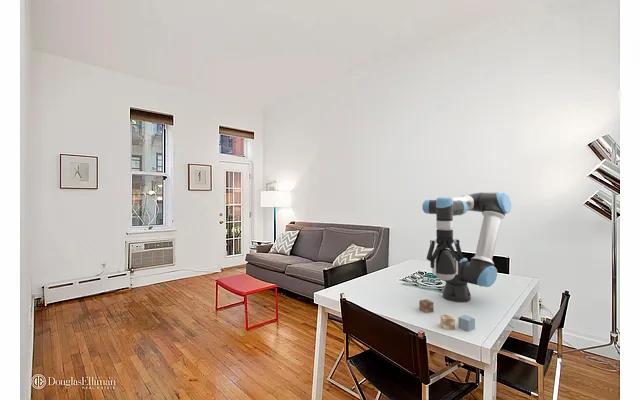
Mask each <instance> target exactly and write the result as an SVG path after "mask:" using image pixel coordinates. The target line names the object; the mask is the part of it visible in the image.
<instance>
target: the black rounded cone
mask: <svg viewBox="0 0 640 400" xmlns="http://www.w3.org/2000/svg"><path fill="white" fill-rule="evenodd" d="M435 262H436V275H435V276H436V277H437V278H438V279H440V280H441V281H446V280H451V279H453V278H454V277H455V274H456V265H455V261H454V256H453V255H452V253H451V251H450V250H449V248H442V249H441V250H440V252H439V254H438V256H437V257H436V259H435Z"/></svg>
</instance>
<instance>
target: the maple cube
mask: <svg viewBox="0 0 640 400" xmlns="http://www.w3.org/2000/svg"><path fill="white" fill-rule="evenodd" d="M440 326H441V328H442V329H443V331H445V330H447V331H450V330H454V331H455V330H456V319H455V318H454V316H453V315H452V314H440Z"/></svg>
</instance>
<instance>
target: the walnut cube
mask: <svg viewBox="0 0 640 400" xmlns="http://www.w3.org/2000/svg"><path fill="white" fill-rule="evenodd" d="M418 304H419V309H418V310H420V311H421V312H422V311H423V313H425V314H428V313H433V312H434V302H433V301H431V300H429V299H420V300H419V302H418Z"/></svg>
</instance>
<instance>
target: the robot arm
mask: <svg viewBox="0 0 640 400" xmlns="http://www.w3.org/2000/svg"><path fill="white" fill-rule="evenodd" d="M511 201H512V200H511V197H510V196H509V195H508V193H506V192H499V191H497V192H475V193H469V194H463V195H461V196H460V197H459V196H458V197H451V196H450V197H447V196H446V197H437V198H436V199H426V200H424V201H423V202H422V212H424V213H425V214H429V215H436V216H435V217H436V221H435V222H436V231H435V233H436V239H434V240H433V239H430V241H429V242H430V244H429V248H428V252H427V256H426V260H427V261H428V262H430V263H429V265H430V268H431V270H432V271H431V272H432V275H433V276H436V262H435V260H436V257H437V256H438V254H439V252H440V250H441V249H442V248H447V249H449V250H450V251H451V253H452V255H453V257H454V261H455V265H456V274H455V277H454V278H453V279H451V280H445V285H444V288H443V290H442V297H443V299H445V300H447V301H452V302H456V303H457V302H459V303H462V302H463V303H464V302H465V303H466V302H469V301H471V299H472V296H471V292H470V289H469V285H468V284H471V285H475V286H479V287H485V288H490V287H491V286H492V285H494V284H495V282H496V281H497V277H498V269H497V268H496V267H495V263H494V261H493V257H494V254H495V253H494V252H495V250H496V249H495V248H496V244H497V238H498V233H499V230H500V226H501V225H500V224H501V220H503V219H505V216H506V215H507V214H509V213H510V212H511V211H512V210H511V209H512V202H511ZM469 211H470V212H478V213H481V214H482V216H483V220H482V224H481V227H480V231H479V237H478V240H477V241H478V242H477V245H476V250H475V254H474V256H473V257H471V258H470V261H468V258H467V257H464V255H463V252H462V248H461V245H460V240H459V239H457V238H455V239H454V230H453V229H454V219H453V218H454V217H455V216H462V215H465V214H466V213H467V212H469ZM453 244H454V247H455V248H454V247H453ZM435 245H436V247H435Z"/></svg>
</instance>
